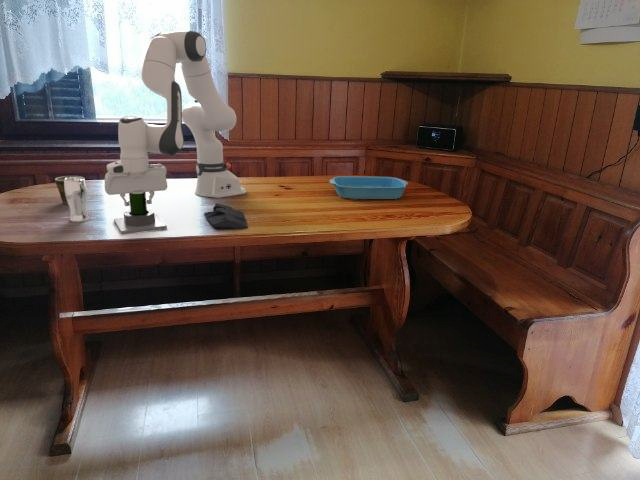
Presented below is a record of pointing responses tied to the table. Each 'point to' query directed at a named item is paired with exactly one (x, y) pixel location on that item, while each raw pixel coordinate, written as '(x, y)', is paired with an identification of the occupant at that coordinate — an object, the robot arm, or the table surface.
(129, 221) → the barrel holder
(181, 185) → the table surface
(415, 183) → the table surface
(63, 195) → the ceramic cup
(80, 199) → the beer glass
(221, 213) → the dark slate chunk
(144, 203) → the beer can
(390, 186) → the casserole dish
